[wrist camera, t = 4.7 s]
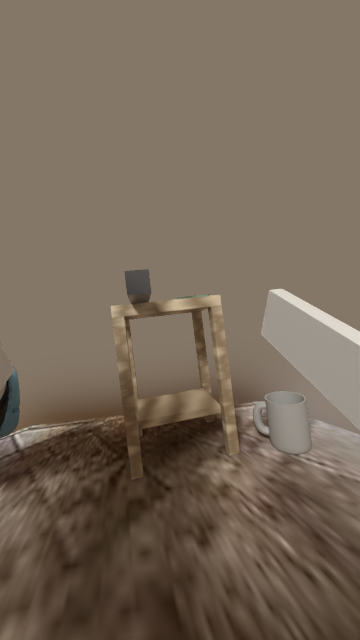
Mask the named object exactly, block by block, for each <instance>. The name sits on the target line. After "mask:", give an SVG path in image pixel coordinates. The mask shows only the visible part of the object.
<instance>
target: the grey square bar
mask: <svg viewBox="0 0 360 640" xmlns="http://www.w3.org/2000/svg"><path fill="white" fill-rule="evenodd" d="M125 279H126V288H127V295H128V297H129V299H130V302H131V304H137V303H146V302H149V299H150V295H151V286H150V278H149V271H148V269H147V270H134V271H125Z"/></svg>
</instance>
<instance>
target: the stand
mask: <svg viewBox="0 0 360 640" xmlns="http://www.w3.org/2000/svg"><path fill="white" fill-rule="evenodd" d="M206 309H208V312H209V319H210V328H211V335H212V343H213V351H214V359H215V367H216V375H217V383H218V391H219V399H220V404H219V403H218V402H216V401H215V399H214V398H212V394H211V386H210V378H209V370H208V362H207V354H206V346H205V339H204V330H203V322H202V314H201V311H202V310H206ZM189 312H192V319H193V327H194V335H195V343H196V351H197V358H198V367H199V375H200V383H201V389H195V390H189V391H184V392H178V393H173V394H167V395H162V396H157V397H151V398H146V399H140V400H139V398H138V389H137V381H136V373H135V365H134V357H133V348H132V340H131V332H130V324H129V319H137V318H146V317H155V316H164V315H172V314H181V313H189ZM111 313H112V321H113V329H114V337H115V346H116V354H117V362H118V370H119V379H120V387H121V395H122V404H123V412H124V421H125V429H126V437H127V445H128V454H129V462H130V470H131V479H132V480H133V479H137V478H141V477H143V463H142V455H141V446H140V438H139V437H143V431H142V429H145V428H149V427H154V426H159V425H164V424H169V423H173V422H178V421H183V420H188V419H193V418H198V417H202V416H205V420H206V422H207V423H209V422H214V421H215V418H214V414H217V413H221V415H222V423H223V431H224V439H225V447H226V451H227V452H228V454H229V455H234V454H238V453H240V450H239V442H238V434H237V426H236V418H235V410H234V402H233V394H232V387H231V379H230V371H229V363H228V355H227V347H226V339H225V331H224V323H223V316H222V308H221V299H220V295H214V296H210V294H208V295H198V296H189V297H179V298H177V299H175V300H166V301H156V302H146V303H137V304H127V305H117V306H111Z"/></svg>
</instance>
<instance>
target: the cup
mask: <svg viewBox="0 0 360 640" xmlns="http://www.w3.org/2000/svg"><path fill="white" fill-rule="evenodd" d="M263 409H266V411H267V419H268V427H267V426H265V425H264V424H263V422H262V419H261V412H262V410H263ZM253 419H254V422H255V425H256V427H257V428H258V430H259V431H260V432H261V433H263V434H265V435H269V436H270V441H271V443H272V445H273V446H274V447H275V448H276V449H278V450H279V451H281V452H284V453H287V454H294V455H298V454H304V453H307V452H308V451H309V450H310V449H311V447H312V440H311V432H310V424H309V417H308V409H307V401H306V397H305V396H303V395H301V394H299V393H295V392H288V391H278V392H273V393H269V394H267V395H266V396H265V401H261V402H258V403H257V404H256V405H255V406H254V409H253Z"/></svg>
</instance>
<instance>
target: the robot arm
mask: <svg viewBox="0 0 360 640" xmlns="http://www.w3.org/2000/svg"><path fill="white" fill-rule="evenodd" d="M261 334H262V335H263V337H264V338H266V339H267V340H268V341H269V342H270V343H271V344H272V345H273V346H274V347H275V348H276V349H277V350H278V351H279V352H280V353H281V354H282V355H283V356H284V357H285V358H286V359H287V360H288V361H289V362H290V363H291V364H292V365H293V366H294V367H295V368H296V369H297V370H298V371H299V372H301V374H302V375H303V376H304V377H305V378H307V379H308V380H309V381H310V382H311V383H312V384H313V385H314V386H315V387H316V388H317V389H318V390H319V391H320V392H321V393H322V394H323V395H324V396H325V397H326V398H327V399H328V400H329V401H330V402H331V403H332V404H333V405H334V406H335V407H336V408H337V409H338V410H339V411H340V412H341V413H343V415H344V416H345V417H347V418H348V419H349V420H350V421H351V422H352V423H353V424H354V425H355V426H356V427H357V428H358V429H359V430H360V332H359V331H357V330H355V329H354V328H352V327H350V326H348V325H347V324H345V323H343V322H341V321H339V320H337V319H336V318H334V317H332V316H330V315H328V314H327V313H325V312H323V311H321V310H319V309H318V308H316V307H314V306H312V305H310V304H309V303H307V302H305V301H303V300H301V299H300V298H298V297H296V296H294V295H292V294H291V293H289V292H287V291H285V290H283V289H276V290H269V294H268V299H267V305H266V310H265V315H264V320H263V326H262V332H261ZM19 404H20V393H19V382H18V375H17V371H16V369H15V368H14V366H12V364H11V362H10V360H9V358H8V356H7V354H6V352H5V350H4V348H3V347H2V344H1V342H0V438H2V437H5V436H7V435H9V434H11V433H12V432H13V431H14V430H15V429H16V427H17V425H18V421H19V413H20V411H19Z"/></svg>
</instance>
